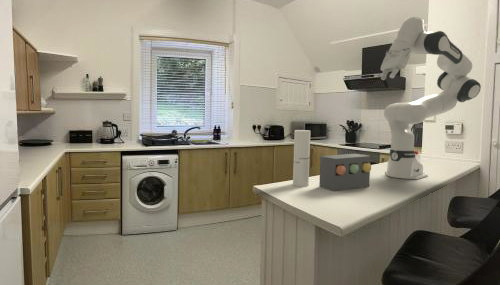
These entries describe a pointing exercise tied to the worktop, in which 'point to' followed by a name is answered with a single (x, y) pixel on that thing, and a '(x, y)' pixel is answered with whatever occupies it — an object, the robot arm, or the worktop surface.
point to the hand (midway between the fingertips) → (386, 78)
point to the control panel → (348, 179)
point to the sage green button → (353, 168)
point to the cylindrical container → (301, 158)
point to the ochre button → (366, 167)
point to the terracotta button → (340, 170)
